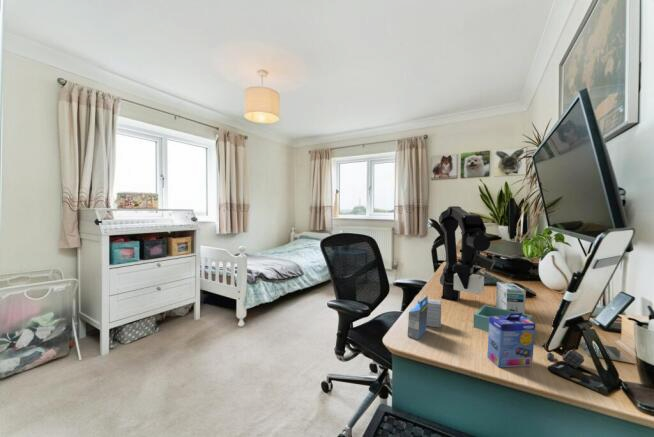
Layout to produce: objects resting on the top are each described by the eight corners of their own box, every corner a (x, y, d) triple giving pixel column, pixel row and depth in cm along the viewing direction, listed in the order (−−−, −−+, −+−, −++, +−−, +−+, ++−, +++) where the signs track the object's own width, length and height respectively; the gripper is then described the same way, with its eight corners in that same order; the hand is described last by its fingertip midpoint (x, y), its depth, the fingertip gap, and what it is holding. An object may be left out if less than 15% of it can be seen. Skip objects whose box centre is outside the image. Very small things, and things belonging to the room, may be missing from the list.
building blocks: (584, 360, 72) (549, 338, 76) (570, 375, 73) (537, 352, 78) (583, 355, 74) (549, 334, 78) (569, 369, 76) (538, 348, 80)
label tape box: (415, 326, 97) (416, 292, 96) (427, 330, 95) (428, 294, 94) (407, 336, 90) (407, 299, 89) (419, 340, 87) (420, 302, 87)
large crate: (473, 328, 97) (473, 314, 97) (483, 317, 106) (483, 304, 106) (525, 343, 87) (526, 327, 86) (531, 329, 96) (531, 315, 96)
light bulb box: (525, 318, 105) (526, 290, 105) (505, 316, 106) (507, 289, 106) (512, 307, 116) (513, 282, 115) (494, 306, 117) (495, 281, 116)
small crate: (453, 289, 107) (453, 274, 107) (458, 286, 112) (459, 271, 111) (478, 294, 101) (479, 278, 101) (483, 291, 105) (483, 275, 105)
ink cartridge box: (499, 368, 72) (501, 315, 72) (485, 357, 78) (487, 307, 77) (534, 367, 73) (537, 314, 72) (518, 355, 79) (520, 306, 78)
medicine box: (440, 323, 100) (440, 299, 100) (440, 328, 96) (441, 304, 95) (417, 320, 103) (417, 297, 102) (417, 325, 98) (417, 301, 98)
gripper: (486, 252, 93) (485, 297, 94) (499, 246, 107) (498, 286, 108) (452, 248, 101) (451, 290, 102) (468, 244, 115) (467, 281, 115)
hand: (468, 287), depth 106 cm, fingers closed on small crate, 6 cm apart
